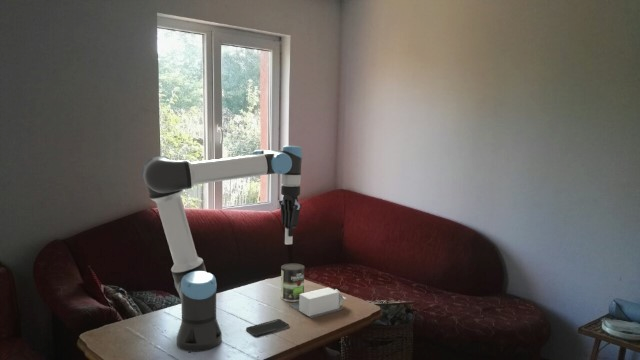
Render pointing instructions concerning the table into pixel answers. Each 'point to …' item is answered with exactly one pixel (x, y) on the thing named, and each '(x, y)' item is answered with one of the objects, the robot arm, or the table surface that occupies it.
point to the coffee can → (292, 281)
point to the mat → (296, 306)
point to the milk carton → (320, 301)
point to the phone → (267, 327)
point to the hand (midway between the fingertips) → (288, 243)
